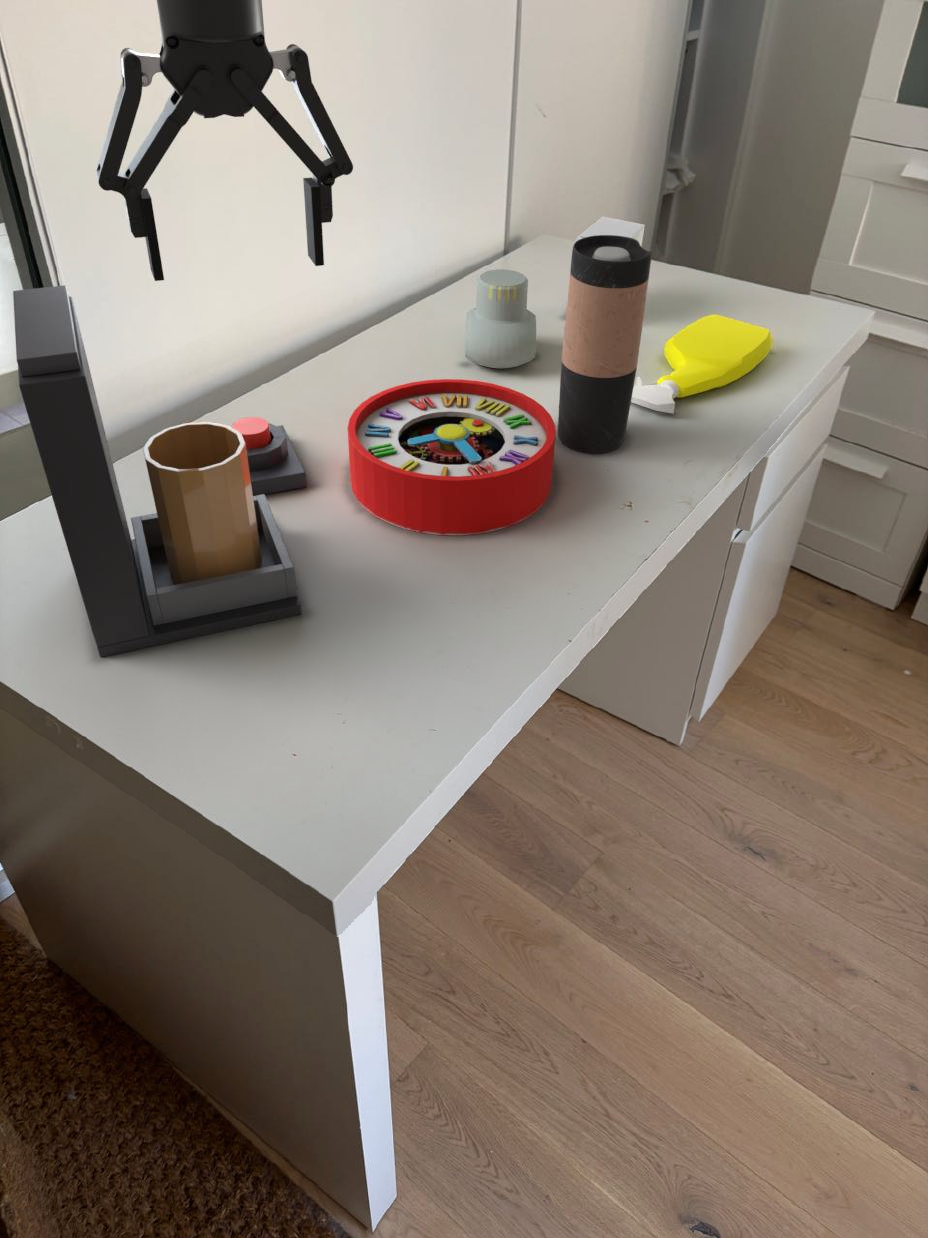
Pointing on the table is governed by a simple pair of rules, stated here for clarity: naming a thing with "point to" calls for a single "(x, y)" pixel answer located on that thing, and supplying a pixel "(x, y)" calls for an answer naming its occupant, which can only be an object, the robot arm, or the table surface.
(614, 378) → the travel mug
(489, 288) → the air freshener
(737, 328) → the spray bottle
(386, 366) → the table surface
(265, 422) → the button
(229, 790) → the table surface
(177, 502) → the cup
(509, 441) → the toy clock
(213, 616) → the coffee maker
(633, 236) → the cosmetics box
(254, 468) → the switch block
